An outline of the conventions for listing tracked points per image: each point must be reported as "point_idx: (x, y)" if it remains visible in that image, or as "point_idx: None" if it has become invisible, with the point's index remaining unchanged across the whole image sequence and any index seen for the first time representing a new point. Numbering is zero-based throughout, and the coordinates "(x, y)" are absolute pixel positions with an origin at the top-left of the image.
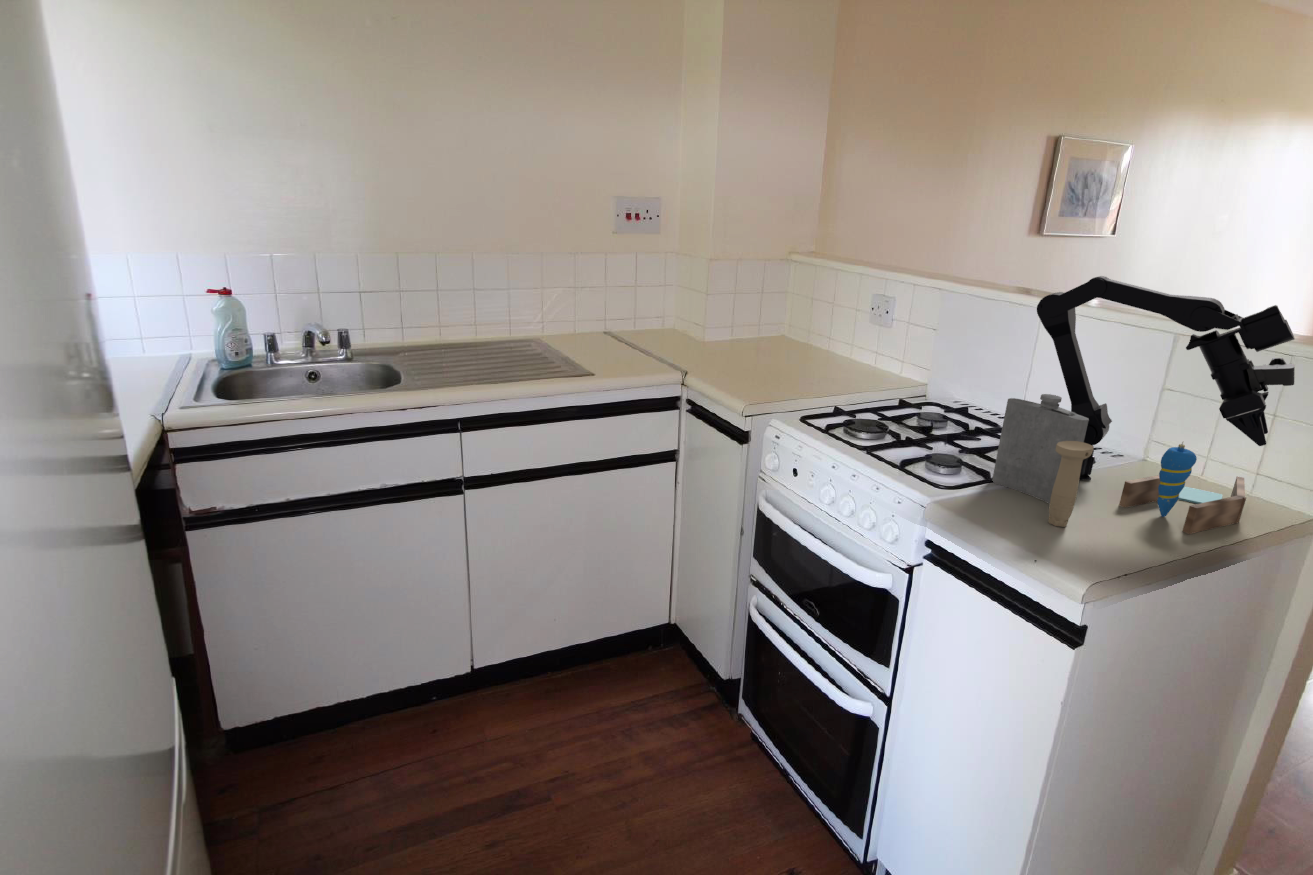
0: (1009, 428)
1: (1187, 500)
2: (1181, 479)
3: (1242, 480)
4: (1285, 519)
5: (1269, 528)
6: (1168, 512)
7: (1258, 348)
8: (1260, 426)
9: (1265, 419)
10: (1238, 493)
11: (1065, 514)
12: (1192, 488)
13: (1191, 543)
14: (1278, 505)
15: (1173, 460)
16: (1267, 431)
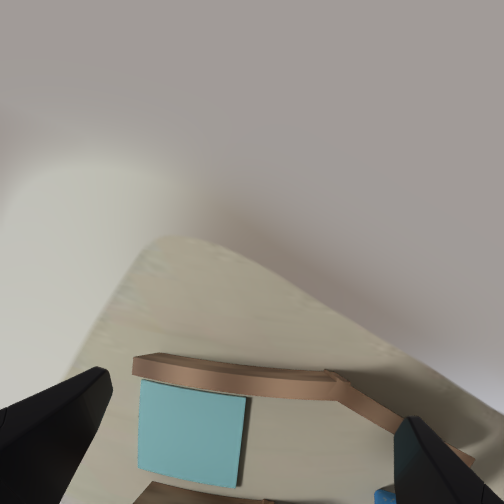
0: None
1: (238, 459)
2: None
3: (164, 367)
4: (229, 267)
5: (322, 309)
6: (387, 491)
7: None
8: (486, 495)
9: (44, 404)
10: (311, 396)
11: None
12: (141, 436)
13: (481, 430)
14: (135, 266)
15: None
16: (102, 373)
